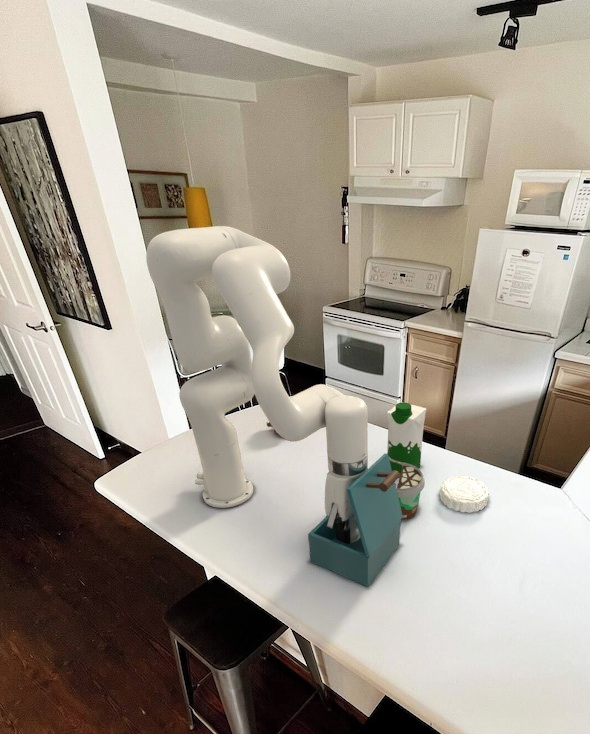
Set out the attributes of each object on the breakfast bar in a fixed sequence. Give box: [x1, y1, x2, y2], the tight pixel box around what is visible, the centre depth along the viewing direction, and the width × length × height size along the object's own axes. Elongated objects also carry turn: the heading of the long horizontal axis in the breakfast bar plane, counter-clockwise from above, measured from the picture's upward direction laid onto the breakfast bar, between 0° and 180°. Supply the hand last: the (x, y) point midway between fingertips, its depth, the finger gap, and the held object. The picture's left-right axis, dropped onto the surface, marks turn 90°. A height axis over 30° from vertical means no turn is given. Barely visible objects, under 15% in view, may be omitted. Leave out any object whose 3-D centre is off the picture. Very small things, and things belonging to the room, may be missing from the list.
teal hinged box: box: [307, 515, 402, 588], centre depth 94 cm, size 14×14×8 cm
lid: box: [347, 453, 403, 557], centre depth 84 cm, size 15×14×5 cm
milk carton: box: [386, 401, 427, 474], centre depth 119 cm, size 9×9×20 cm
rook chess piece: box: [348, 514, 360, 543], centre depth 92 cm, size 4×4×8 cm
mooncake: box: [439, 475, 490, 514], centre depth 112 cm, size 12×12×4 cm
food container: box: [396, 463, 426, 521], centre depth 106 cm, size 12×6×10 cm, turn 168°
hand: (349, 533), depth 94 cm, fingers closed on rook chess piece, 4 cm apart
